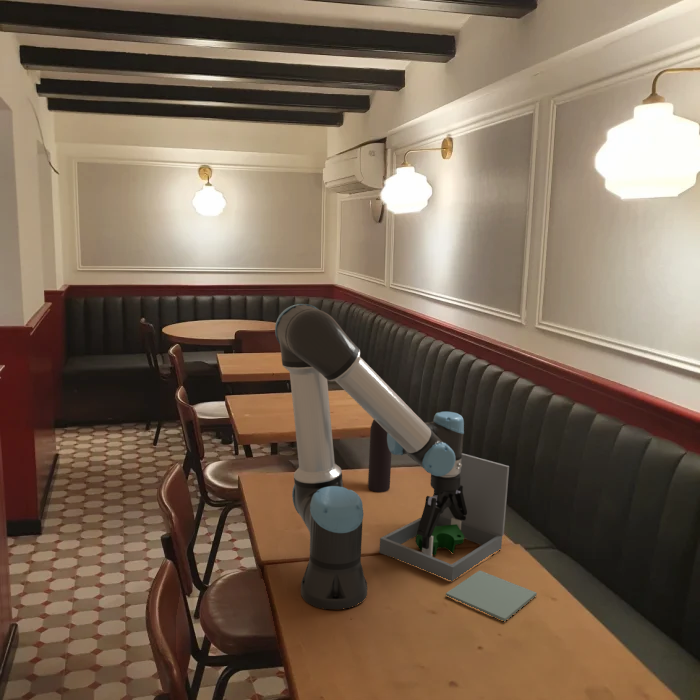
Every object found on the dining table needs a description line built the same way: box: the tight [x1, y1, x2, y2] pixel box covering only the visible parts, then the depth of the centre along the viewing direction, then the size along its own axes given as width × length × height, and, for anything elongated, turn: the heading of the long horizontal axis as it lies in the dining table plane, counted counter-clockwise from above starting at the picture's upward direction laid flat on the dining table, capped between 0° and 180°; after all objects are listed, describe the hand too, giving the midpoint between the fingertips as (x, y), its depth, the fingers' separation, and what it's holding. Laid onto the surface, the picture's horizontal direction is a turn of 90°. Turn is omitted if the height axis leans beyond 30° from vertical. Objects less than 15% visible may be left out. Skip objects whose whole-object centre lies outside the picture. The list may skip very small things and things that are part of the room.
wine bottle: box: [367, 419, 392, 493], centre depth 219 cm, size 7×7×30 cm
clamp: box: [415, 524, 465, 556], centre depth 179 cm, size 12×6×9 cm, turn 101°
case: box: [378, 452, 510, 581], centre depth 178 cm, size 25×22×23 cm
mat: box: [445, 570, 537, 621], centre depth 158 cm, size 15×15×1 cm
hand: (441, 550), depth 180 cm, fingers closed on clamp, 13 cm apart
